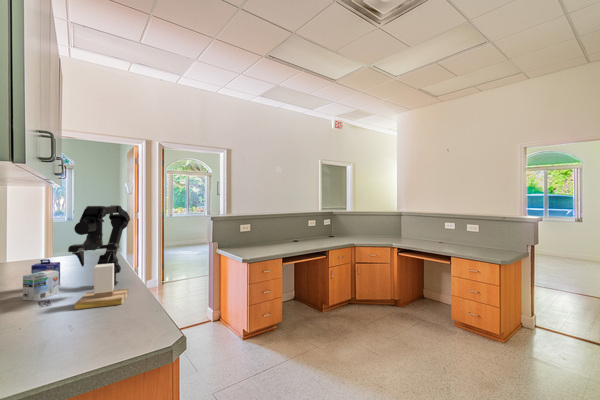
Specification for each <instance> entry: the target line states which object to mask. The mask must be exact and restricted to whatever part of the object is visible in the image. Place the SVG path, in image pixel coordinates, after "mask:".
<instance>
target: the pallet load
mask: <svg viewBox="0 0 600 400" xmlns="http://www.w3.org/2000/svg"><path fill="white" fill-rule="evenodd" d="M114 290H115V286H114V263H111V264H99V265H97V264H96V265H95V266H94V268H93V292H94V299H95V298H102V297H110V296H113V293H114Z"/></svg>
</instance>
